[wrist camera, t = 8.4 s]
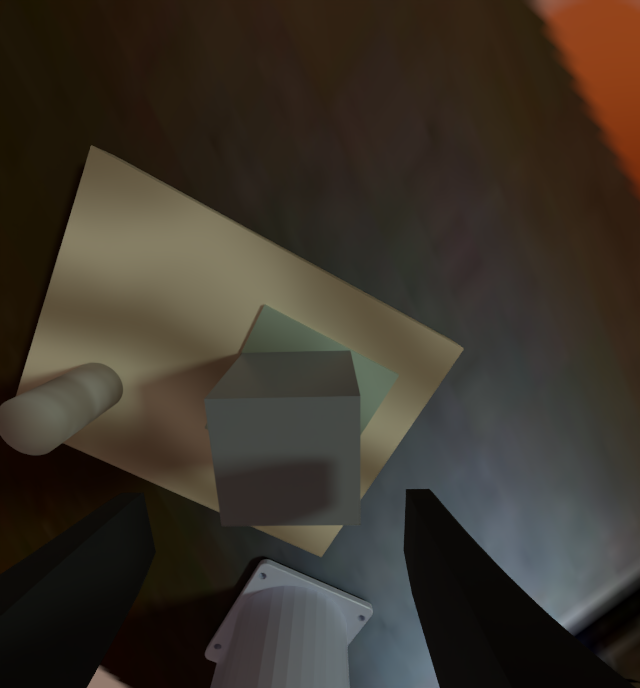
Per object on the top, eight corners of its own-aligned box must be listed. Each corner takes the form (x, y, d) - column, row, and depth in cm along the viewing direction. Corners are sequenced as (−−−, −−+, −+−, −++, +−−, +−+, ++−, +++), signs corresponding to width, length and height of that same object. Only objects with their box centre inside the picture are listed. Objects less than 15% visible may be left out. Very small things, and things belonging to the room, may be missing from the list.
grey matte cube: (351, 445, 17) (360, 524, 12) (252, 447, 17) (221, 526, 12) (350, 350, 15) (360, 396, 11) (242, 352, 16) (204, 399, 11)
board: (321, 535, 20) (319, 635, 15) (33, 405, 18) (-85, 468, 13) (452, 340, 17) (509, 381, 12) (113, 155, 15) (-4, 103, 10)
